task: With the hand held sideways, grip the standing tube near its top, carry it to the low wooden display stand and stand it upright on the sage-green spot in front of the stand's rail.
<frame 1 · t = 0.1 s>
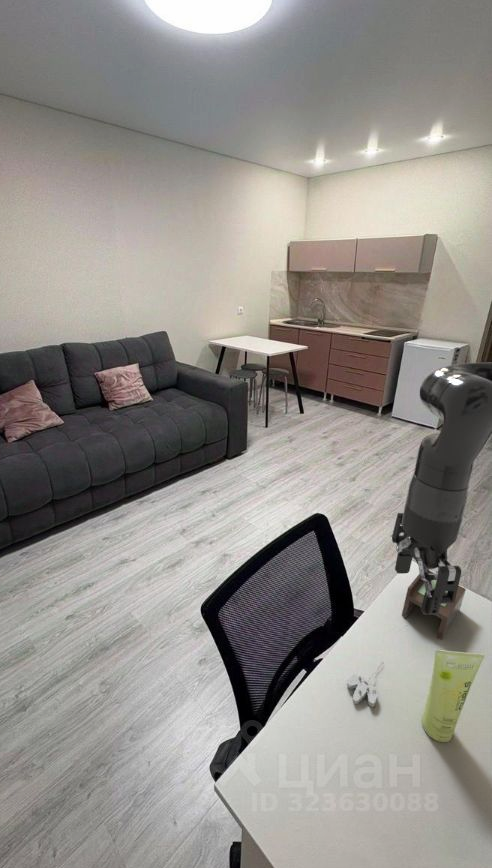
hand: (414, 591, 65), 30 cm above the table, tool pointing down, fingers open, 8 cm apart
wooden display stand: (430, 612, 97), on the table
tube: (434, 728, 73), on the table
white lobed piece: (370, 684, 81), on the table
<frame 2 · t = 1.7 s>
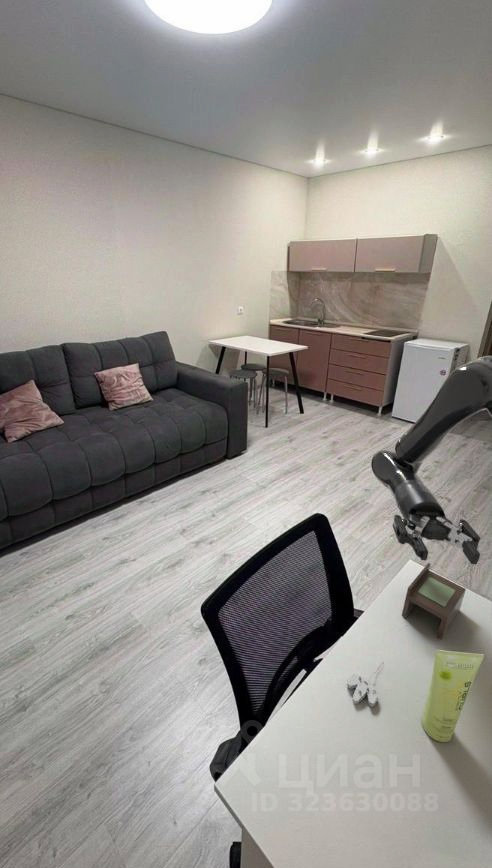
hand: (450, 558, 71), 30 cm above the table, tool horizontal, fingers open, 8 cm apart
nothing on the table moved.
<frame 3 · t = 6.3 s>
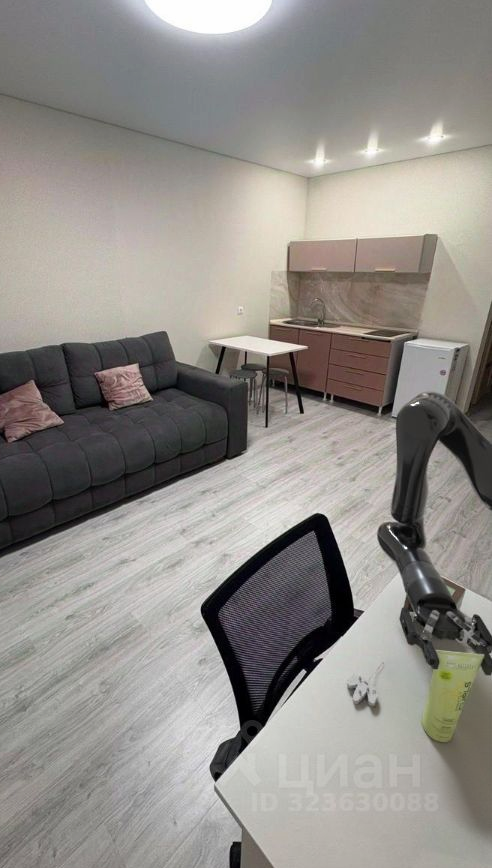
hand: (463, 668, 65), 18 cm above the table, tool horizontal, fingers closed on tube, 7 cm apart
tube: (434, 728, 73), on the table, touching gripper
everything else where it was.
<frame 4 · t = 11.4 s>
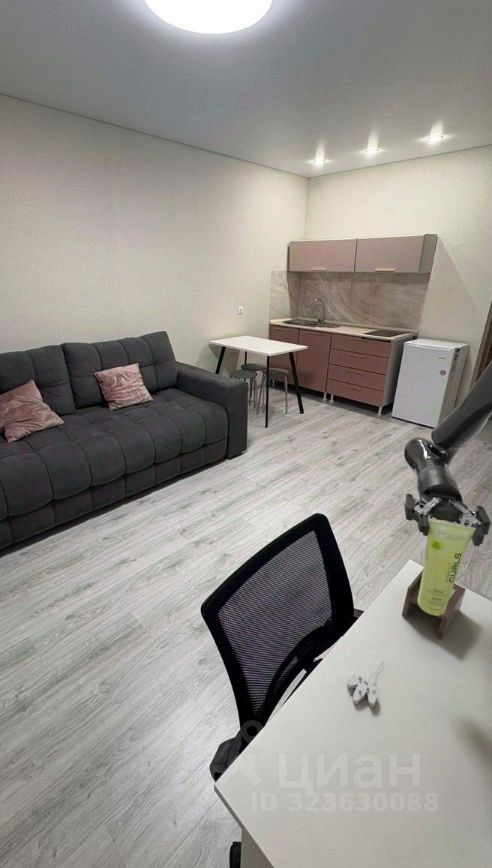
hand: (452, 536, 71), 34 cm above the table, tool horizontal, fingers closed on tube, 7 cm apart
tube: (429, 606, 79), point 16 cm above the table, touching gripper
everything else where it was.
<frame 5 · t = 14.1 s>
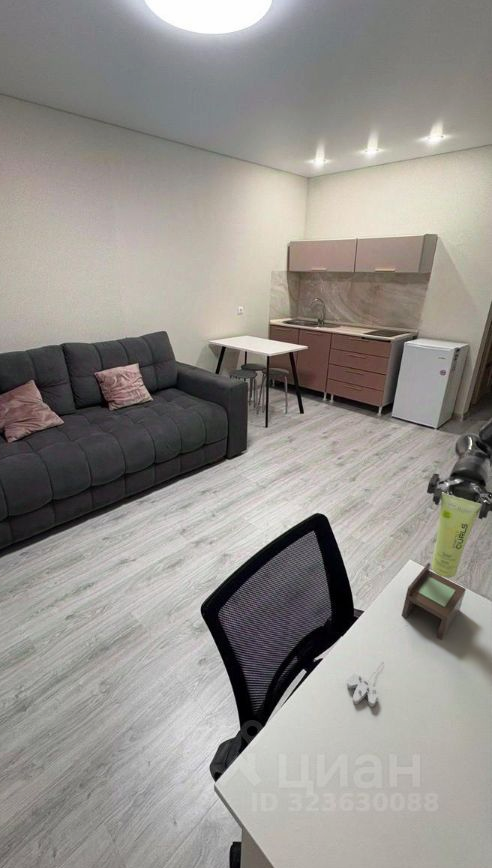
hand: (458, 508, 84), 31 cm above the table, tool horizontal, fingers closed on tube, 7 cm apart
tube: (442, 570, 92), point 13 cm above the table, touching gripper
everything else where it was.
when the fingers open (25 cm above the table, at t = 16.5 s): tube stays where it is, resting on wooden display stand.
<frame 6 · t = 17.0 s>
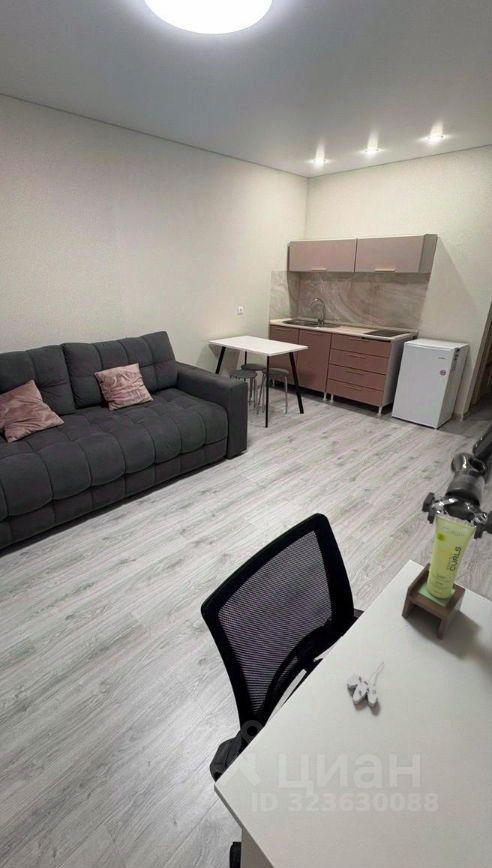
hand: (453, 528, 86), 26 cm above the table, tool horizontal, fingers open, 8 cm apart
tube: (436, 591, 95), point 7 cm above the table, touching wooden display stand
everything else where it was.
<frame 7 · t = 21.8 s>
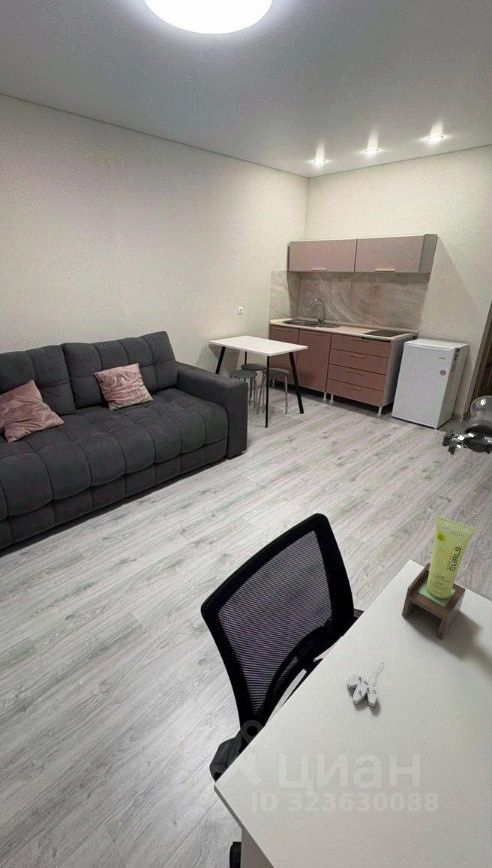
hand: (474, 456, 91), 38 cm above the table, tool horizontal, fingers open, 8 cm apart
nothing on the table moved.
at the end: tube 0.2 cm off-centre on the wooden display stand, point 6.6 cm above the wooden display stand's base; tube tilted 0°; the gripper is holding nothing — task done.
